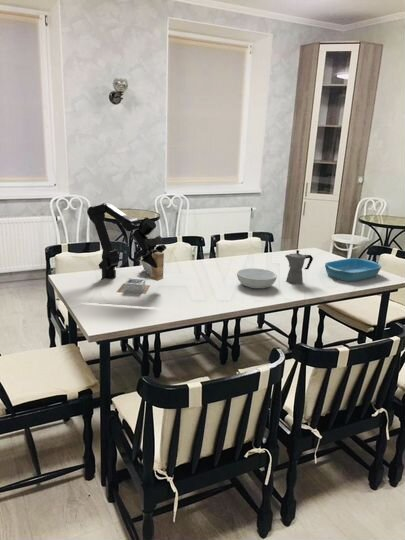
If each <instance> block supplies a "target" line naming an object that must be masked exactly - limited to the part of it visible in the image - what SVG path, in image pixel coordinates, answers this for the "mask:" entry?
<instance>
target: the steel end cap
mask: <svg viewBox="0 0 405 540" xmlns="http://www.w3.org/2000/svg"><path fill="white" fill-rule="evenodd" d="M123 284H124V292H125V293H126V294H139V293H140V294H142V293H143V291H144V289H145V285H146V279H144V278H127V280H126V281H125V282H124V283H123ZM124 292H123V293H124ZM140 294H139V295H140Z"/></svg>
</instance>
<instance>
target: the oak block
mask: <svg viewBox="0 0 405 540" xmlns="http://www.w3.org/2000/svg"><path fill="white" fill-rule="evenodd" d="M164 254H165V252H162V253H161V252H156V253H152V258H153V259H154V261H155V263H156V265H157V268H155V267H153V266H152V277H151V280H153V281H155V282H156V281H157V282H158V281H162V280H164V267H165V265H164V263H165V261H164V259H165V255H164Z"/></svg>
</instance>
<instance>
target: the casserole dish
mask: <svg viewBox="0 0 405 540" xmlns="http://www.w3.org/2000/svg"><path fill="white" fill-rule="evenodd" d="M324 267H325V271H326V274H327V275H328V276H330V277H332V278H335V279H338V280H340V281H344V282H358V281H362V280H366V279H369V278H373V277H375V276H377V275H378V274H379V272H380V270H381V269H382V264H380V263H377V262H376V261H372V260H369V259H363V258H359V257H358V258H357V257H354V258H353V257H351V258H344V259H339V260H338V259H337V260H334V261H328V262H325V263H324Z"/></svg>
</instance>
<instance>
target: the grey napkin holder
mask: <svg viewBox="0 0 405 540" xmlns="http://www.w3.org/2000/svg"><path fill="white" fill-rule="evenodd" d="M140 262H141V265H142V267H143V270H144V272H145V273H147V274H148V275H149V276H150V278H152V266H151V265H149V264H148V263H146V262H144V261H141V260H140Z"/></svg>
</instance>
